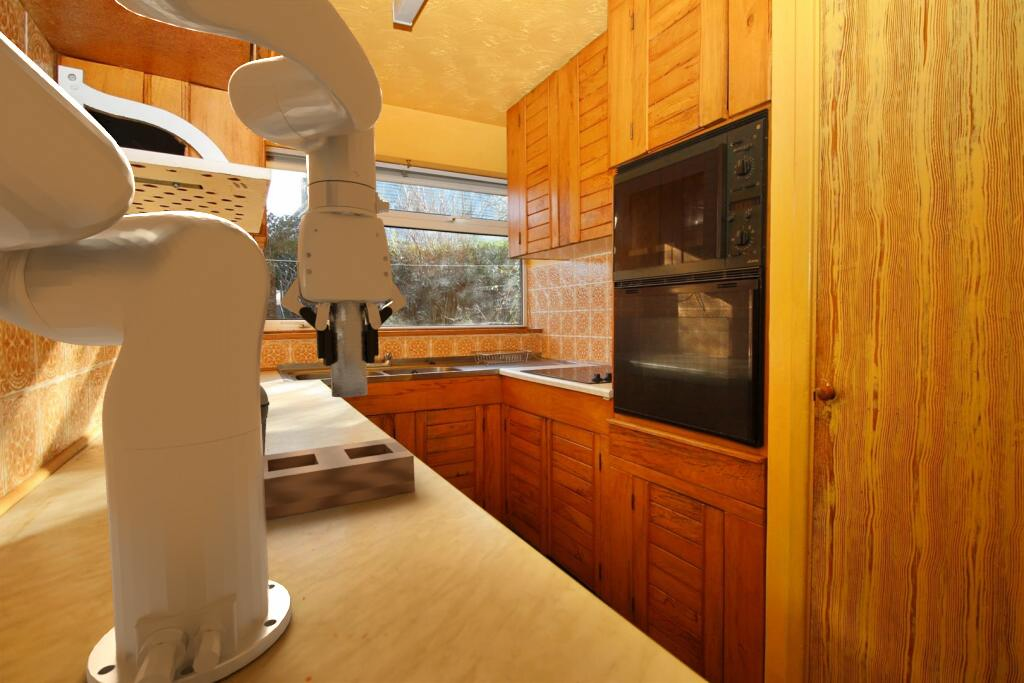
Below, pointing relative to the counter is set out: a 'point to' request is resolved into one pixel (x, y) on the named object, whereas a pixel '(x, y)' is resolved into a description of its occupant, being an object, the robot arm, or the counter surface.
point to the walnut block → (335, 476)
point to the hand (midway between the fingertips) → (348, 362)
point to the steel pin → (348, 349)
